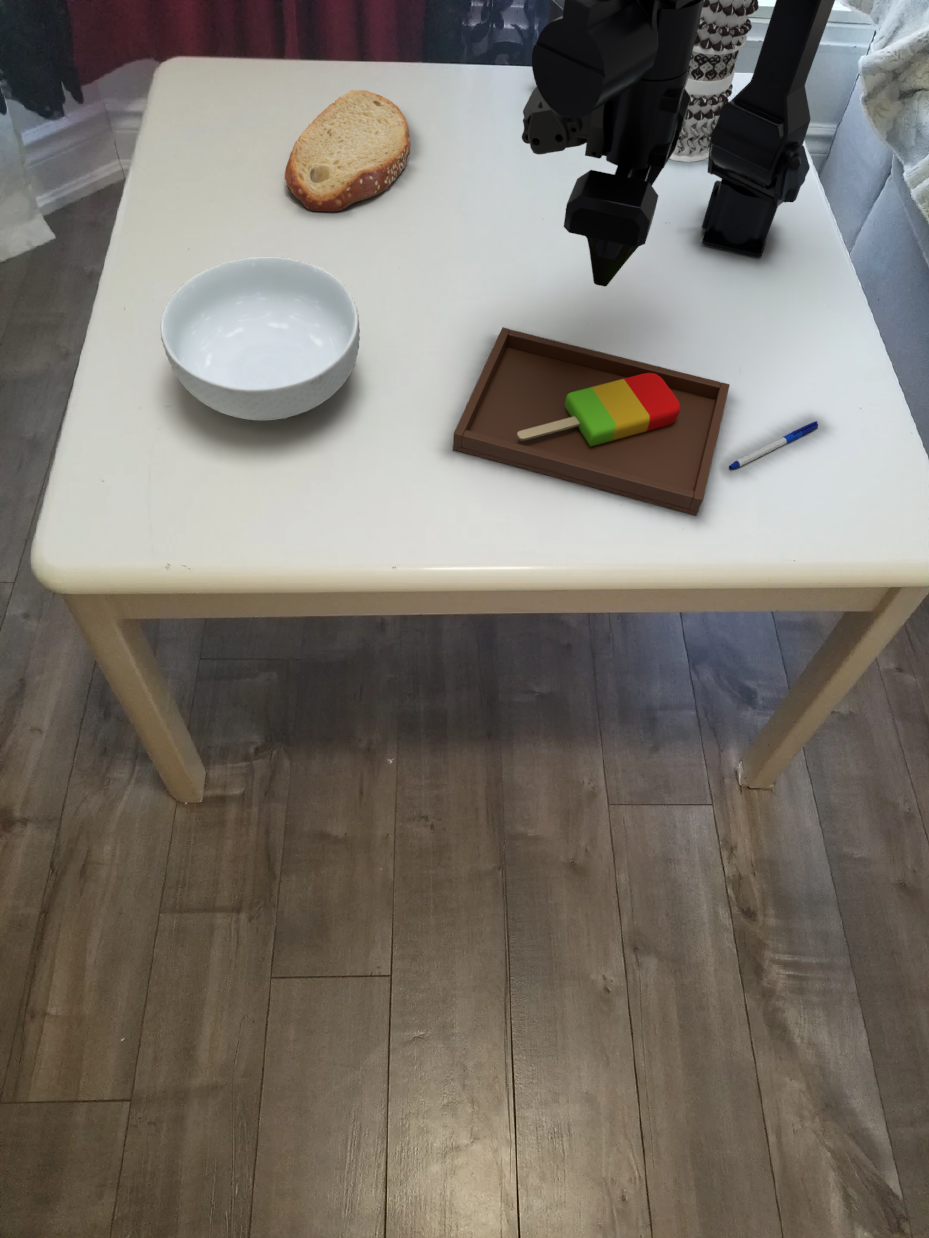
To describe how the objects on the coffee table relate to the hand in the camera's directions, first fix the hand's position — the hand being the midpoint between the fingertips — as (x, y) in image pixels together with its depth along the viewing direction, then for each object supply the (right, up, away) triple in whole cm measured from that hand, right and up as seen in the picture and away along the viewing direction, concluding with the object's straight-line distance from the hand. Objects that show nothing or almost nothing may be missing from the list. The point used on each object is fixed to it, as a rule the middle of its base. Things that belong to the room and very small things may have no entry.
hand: (612, 251), depth 78 cm
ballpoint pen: (+15, -16, +4) cm, 23 cm away
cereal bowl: (-30, -10, +5) cm, 32 cm away
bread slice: (-26, +21, +25) cm, 41 cm away
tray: (-1, -14, +4) cm, 15 cm away
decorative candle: (+13, +25, +30) cm, 41 cm away
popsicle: (-1, -14, +3) cm, 15 cm away
